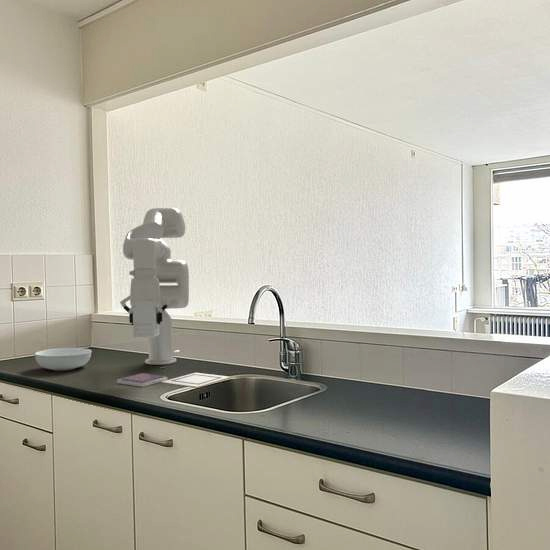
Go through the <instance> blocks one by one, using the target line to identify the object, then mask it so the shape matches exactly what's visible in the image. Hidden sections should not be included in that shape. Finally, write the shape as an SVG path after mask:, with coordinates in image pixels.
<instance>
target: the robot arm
mask: <svg viewBox="0 0 550 550" xmlns="http://www.w3.org/2000/svg"><path fill="white" fill-rule="evenodd" d="M185 232H186V223H185V219H184V217H183V214H182V212H181V211H180V209H178V208H175V207H155V208H150V209H148V210H147V212H146V213H145V215H144V219H143V222H142V224H141V225H138V226H136V227H135V228H131V230H129V231H128V232H127V233H126V235H125V238H124V241H123V245H122V253H123V256H124V257H125V259H128V260H133V270H129V272H128V273H129V276H133V278H131V280H130V291H129V292H130V293H129V295H128V296H126V297H125V298H124V299H122V300H120V305H121V307H122V308H123V309H124V310H125V311H126V312H127V314H129V316H128V317H129V318H128V319H129V324H131V326H133V307H136V305H137V301H144V300H154V306H155V307H156V308H157V309H158V311H159V313H158V324H159V335H157V336H155V337H148V358H147V359H145V360H144V363H145V364H146V365H153V366H154V365H155V366H156V365H157V366H160V365H162V366H163V365H170V364H171V365H172V364H175V363H176V362H177V358H176V357H175V356H178V355H180V354H181V351H180V349H179V350H178V349H176V350H174V349H173V321H172V320H173V319H172V318H171V317H172V316H171V315H170V314H169V313H168V312H167V311H166V310H168V309H184V308H186V307H187V306H188V305H189V302H190V301H189V300H190V299H189V298H190V294H189V293H190V288H189V286H190V276H189V275H190V274H189V272H190V271H189V270H190V269H189V266H188V263H187V262H186V261H185V260H181V259H171V257H172V255H171V254H172V253H171V251H172V250H171V247H170V246H169V245H168V244H167V243H166V242H165V240H163V239H171V238H172V239H173V238H174V239H176V238H177V239H178V238H182V237H183V236H184V235H185ZM160 284H162V285H160ZM163 284H167V285H163ZM168 284H171V285H168ZM173 284H175V285H173ZM129 301H130V302H129ZM127 302H129V303H130V306H131V307H129V306H127V304H126V303H127Z"/></svg>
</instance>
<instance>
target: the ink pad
mask: <svg viewBox="0 0 550 550" xmlns="http://www.w3.org/2000/svg"><path fill="white" fill-rule="evenodd" d="M166 380H168V376H165V375H160V374H159V375H158V374H152V373H151V374H150V373H137V374H134V375H130V376H126V377H121V378H119V379H116V383H117V384H119V385H128V386H134V387H139V388H144V387H147V386H151V385H155V384H158V383H161V382H163V381H166Z"/></svg>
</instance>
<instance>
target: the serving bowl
mask: <svg viewBox="0 0 550 550" xmlns="http://www.w3.org/2000/svg"><path fill="white" fill-rule="evenodd" d="M91 356H92V349H89V348H86V347H85V348H84V347H62V348H59V347H58V348H49V349H44V350H39V351H36V352H35V353H34V357H35V361H36V363H37V364H38V365H39V366H40V367H41V368H43V369H47V370H50V371H51V370H52V371H55V372H61V371H62V372H63V371H64V372H65V371H71V370H75V369H77V368H80V367H82V366H84V365H86V364H87V363H88V362H90V359H91Z"/></svg>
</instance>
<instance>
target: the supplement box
mask: <svg viewBox="0 0 550 550" xmlns="http://www.w3.org/2000/svg"><path fill="white" fill-rule="evenodd" d="M158 313H159V311H158V309H157V308H156V307H155V306H154V300H144V301H137V305H136V307H133V325H132V329H133V338H149V337H155V336H157V335H159V324H158Z"/></svg>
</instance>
